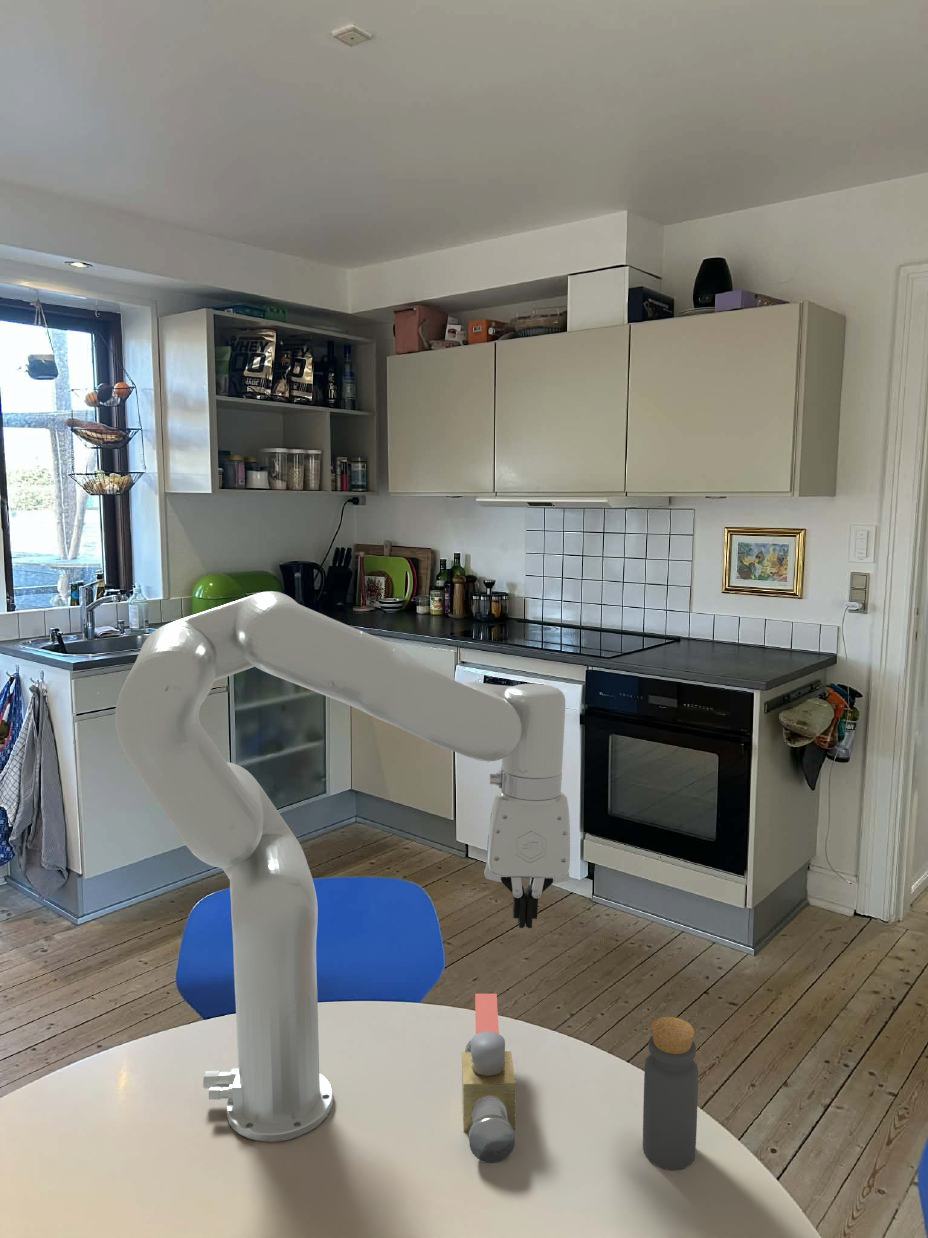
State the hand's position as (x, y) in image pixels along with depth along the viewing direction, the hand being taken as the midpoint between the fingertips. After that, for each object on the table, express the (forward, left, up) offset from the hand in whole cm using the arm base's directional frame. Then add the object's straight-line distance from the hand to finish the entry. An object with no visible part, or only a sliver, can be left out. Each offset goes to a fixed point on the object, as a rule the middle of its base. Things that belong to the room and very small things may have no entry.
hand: (524, 923), depth 116 cm
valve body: (-5, -10, -19) cm, 22 cm away
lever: (-5, -5, -13) cm, 15 cm away
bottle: (+15, -17, -19) cm, 30 cm away
